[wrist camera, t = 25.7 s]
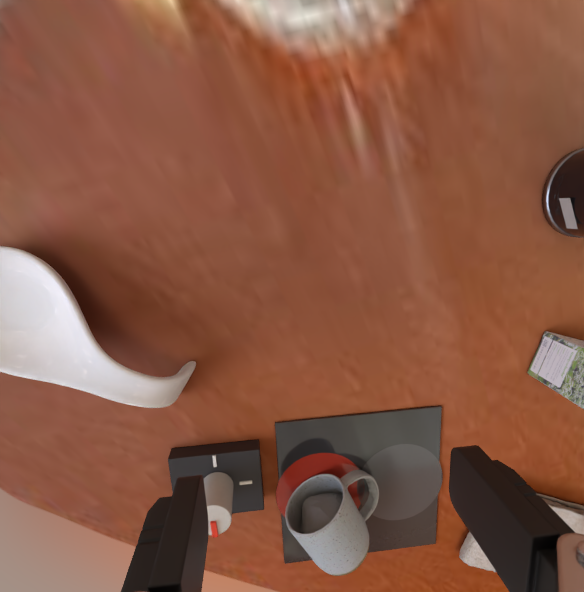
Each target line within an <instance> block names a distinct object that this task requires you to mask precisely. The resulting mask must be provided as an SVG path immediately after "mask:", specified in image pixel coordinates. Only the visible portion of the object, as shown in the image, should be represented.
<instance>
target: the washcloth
mask: <svg viewBox="0 0 584 592" xmlns="http://www.w3.org/2000/svg"><path fill="white" fill-rule="evenodd" d="M536 494H537V493H536ZM538 495H539V496H540V497H541V498H542V499H543V500H544V501H545V502H546V503H547V504H548V505H549V506H550V507H551V508H552V509H553V510H554V511H555V512H556V513H557V514H558V515H559V516H560V517H561V518H562V519H563V520H564V521H565V523H566V524H567V525H568V526H569V527H570V528H571V529H572V530H573V531H574V532H575V533H579V534H584V506H582V505H579V504H575V503H571V502H565V501H562V500H559V499H556V498H553V497H549V496H546V495H543V494H537V496H538ZM459 553H460V556H459V557H460V558H461V560H462V561H463V562H465V563H467V564H468V565H469V566H475V567H477V568H481V569H485V570H488V571H489V570H492V571H494V572H496V570H495V569H494V567H493V566H492V564H491V563H490V561H489V560H488V558H487V557H486V555H485V554H484V552H483V551H482V549H481V548H480V546H479V545H478V543H477V542H476V540H475V539H474V537H473V536H472V534H471V533H470V531H469V533H468V534H467V537H466V539H465V541H464V543H463V545H462V547H461V549H460V552H459Z"/></svg>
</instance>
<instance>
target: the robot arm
mask: <svg viewBox="0 0 584 592" xmlns="http://www.w3.org/2000/svg"><path fill="white" fill-rule="evenodd" d="M542 204H543V210H544V214H545V217H546V219H547V221H548V222H549V224H550V225H551V226H552V227H553V228H554V229H555V230H556V231H558V232H559V233H561V234H563V235H566V236H570V237H584V148H581V149H578V150H575V151H573V152H571V153H569V154H567V155H566V156H565V157H563V158H562V159H561V160H560V161H559V162H558V163H557V164H556V165H555V166H554V168H553V169H552V171H551V172H550V174H549V176H548V178H547V180H546V183H545V186H544V190H543V197H542ZM449 493H450V498H451V501H452V504H453V506H454V508H455V510H456V512H457V513H458V515H459V516H460V518H461V519H462V521H463V522H464V524H465V525H466V527H467V528H468V530H469V531H470V533H471V534H472V536H473V537H474V539H475V540H476V542H477V543H478V545H479V546H480V548H481V549H482V551H483V552H484V554H485V555H486V557H487V558H488V560H489V561H490V563H491V564H492V566H493V567H494V569H495V570H496V572H497V573H498V575H499V576H500V578H501V579H502V581H503V582H504V584H505V585H506V587H507V588H508V590H509V591H510V592H584V534H579V533H575V532H574V531H573V530H572V529H571V528H570V527H569V526H568V525H567V524H566V523H565V521H564V520H563V519H562V518H561V517H560V516H559V515H558V514H557V513H556V512H555V511H554V510H553V509H552V508H551V507H550V506H549V505H548V504H547V503H546V502H545V501H544V500H543V499H542V498H541V497H540V496H539V495H538V496H537V494H536V492H535V491H534V490H533V489H532V488H531V487H530V486H529V485H527V484H526V482H525V481H524V480H523V479H522V478H521V477H520V476H519V475H518V474H517V473H516V472H515V471H514V470H513V469H511V468H510V467H508V466H506V465H505V464H503V463H501V462H500V461H498V460H493V461H492V460H491V459H490V458H489V457H488V456H487V454H486V453H485V452H484V451H483V450H482V449H481V448H480V447H479V446H476V445H474V446H465V447H456V448H453V449H452V451H451V461H450V480H449ZM208 529H209V526H208V512H207V503H206V495H205V487H204V479H203V476H202V475H196V476H187V477H179V478H177V480H176V484H175V488H174V491H173V495H172V497H163V498H159V499H158V500H157V501H156V503H155V504H154V505H153V506H152V508H151V509H150V510H149V511H148V513H147V516H146V519H145V522H144V525H143V530H142V531H141V534H140V537H139V540H138V544H137V546H136V549H135V552H134V555H133V558H132V561H131V564H130V566H129V569H128V572H127V575H126V578H125V581H124V585H123V587H122V590H121V592H201V588H202V581H203V574H204V566H205V559H206V551H207V543H208Z"/></svg>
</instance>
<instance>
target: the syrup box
mask: <svg viewBox="0 0 584 592" xmlns="http://www.w3.org/2000/svg"><path fill="white" fill-rule="evenodd" d="M528 374H529V375H531V376H532V377H534V378H535V379H537V380H539V381H540V382H542V383H543V384H545V385H546V386H548V387H549V388H551V389H553V390H554V391H556V392H558V393H559V394H561V395H562V396H564V397H565V398H567V399H569V400H570V401H572V402H573V403H575V404H577V405H578V406H580V407H581V408H583V409H584V341H583V340H579V339H575V338H571V337H567V336H563V335H559V334H556V333H552V332H548V331H545V333H544V335H543V337H542V339H541V342H540V344H539V347H538V349H537V351H536V353H535V356H534V358H533V361H532V363H531V365H530V367H529V370H528Z"/></svg>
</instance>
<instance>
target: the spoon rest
mask: <svg viewBox="0 0 584 592" xmlns="http://www.w3.org/2000/svg"><path fill="white" fill-rule="evenodd" d="M195 367H196V362H195V361H190V362H188V363H186V364H185V365H184V366H183V367H182V368H181V369H180V371H179V372H178V373H177V374H175V375H173V376H169V377H155V376H150V375H146V374H143V373H140V372H137V371H134V370H132V369H129V368H127V367H125V366H123V365H121V364H120V363H118V362H117V361H115V360H114V359H112V358H111V357H110V356H109V355H108V354H106V352H105V351H104V350H103V349H102V348H101V347H100V345H99V344H98V342H97V341H96V339H95V338H94V336H93V334H92V332H91V330H90V328H89V326H88V324H87V322H86V320H85V318H84V315H83V313H82V311H81V309H80V307H79V305H78V302H77V300H76V299H75V297H74V295H73V293H72V292H71V290H70V288H69V287H68V285H67V284H66V282H65V281H64V279H63V278H62V277H61V276H60V275H59V274H58V273H57V272H56V271H55V270H54V269H53V268H52V267H51V266H50V265H49V264H47V263H46V262H45V261H43V260H42V259H40V258H38V257H36V256H34V255H33V254H30V253H28V252H26V251H23V250H21V249H17V248H13V247H5V246H0V372H4V373H7V374H11V375H14V376H19V377H24V378H29V379H34V380H39V381H44V382H50V383H54V384H59V385H63V386H67V387H71V388H75V389H78V390H82V391H85V392H89V393H92V394H94V395H97V396H100V397H103V398H106V399H109V400H113V401H116V402H120V403H123V404H128V405H133V406H140V407H147V408H161V407H167V406H169V405H171V404H173V403H174V402H175V401H176V400H177V398H178V397H179V395H180V393H181V392H182V390H183V388H184V387H185V385H186V383H187V382H188V380H189V378H190V376H191V375H192V373H193V371H194V369H195Z"/></svg>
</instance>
